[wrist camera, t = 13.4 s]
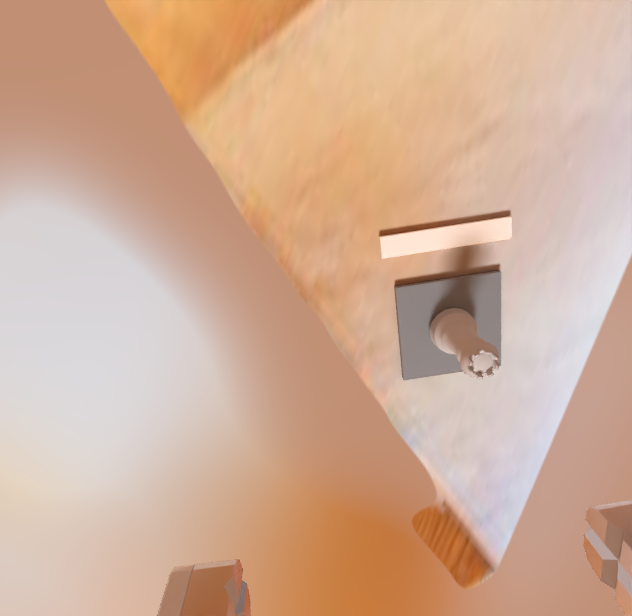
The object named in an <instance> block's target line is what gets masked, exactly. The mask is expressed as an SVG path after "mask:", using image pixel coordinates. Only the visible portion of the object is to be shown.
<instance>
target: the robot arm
mask: <svg viewBox="0 0 632 616" xmlns="http://www.w3.org/2000/svg"><path fill="white" fill-rule="evenodd" d="M586 521H587V522H588V524H589V525H590V526H591V527H590V528H589V529H588V531H587V532H586V533H585V534H584V549H585V552H586V556H587V559H588V561H589V563H590V565H591V567H592V569H593V570H594V572H595V573H596V575H597V576H598V578H599V579H600V580H601V581H602V582H604V583H606V584H607V585H609V586H610V587H612V588H613V589H615V601H616V603H617V604H618V605H619V607H620V608H621V610H622V611H623V612H624V614H625V615H626V616H632V501H624V502H618V503H612V504H606V505H600V506H594V507H590V508H589V509H588V510H587V512H586ZM242 573H243V568H242V565H241V562H240V560H238V559H236V560H227V561H219V562H211V563H202V564H194V565H187V566H179V567H174V569H173V570H172V572H171V573H170V575H169V579H168V582H167V585H166V588H165V591H164V595H163V598H162V601H161V604H160V608H159V611H158V614H157V616H251V614H250V613H251V609H250V595H249V590H248V586H247V583H245V582H244V581H243V580H242Z"/></svg>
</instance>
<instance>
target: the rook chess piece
mask: <svg viewBox="0 0 632 616" xmlns="http://www.w3.org/2000/svg"><path fill="white" fill-rule="evenodd" d="M429 332H430V338H431V340H432V341H433V343H434V344H435V345H436V346H437V347H438V348H439V349H440V350H442V351H444V352H445V353H449V354H455V355H456V357H457V360H458V361H459V362H460V367H461V369H462V370H463V372H464V373H465V374H467V375H469V376H470V377H476V378H478V379H483V376H486V375H487V376H488V377H491V376H492V375H494V374H493V373H492V371H493V370H494V368H495V369H497V370H498V368H499V365H500V364H499V363H498V360H499V353H498V351H497V349H496V347H495V346H494V345H492V344H490V343H488V342H486V341H485V340H483V339H481V338H479V337H478V326H477V323H476V322H475V320H474V319H473V317H472V316H471V315H470V313H468V312H467V311H465V310H463V309H459V308H451V309H447V310H444V311H442V312H441V313H439V314H438V315H437V316H436V317H435V318H434V320H433V321H432V322H431V326H430V330H429Z"/></svg>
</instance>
